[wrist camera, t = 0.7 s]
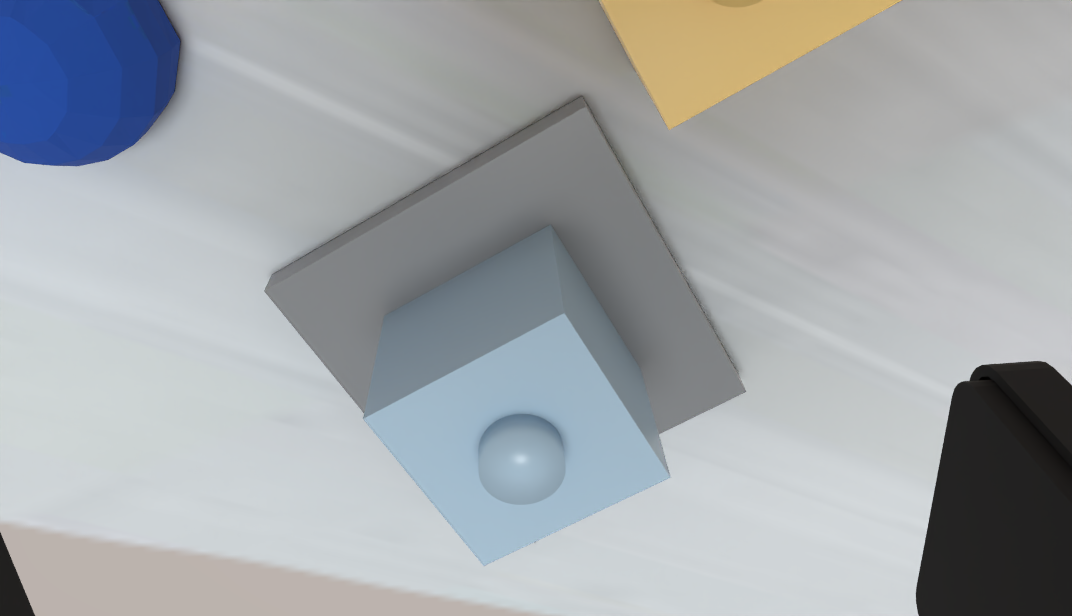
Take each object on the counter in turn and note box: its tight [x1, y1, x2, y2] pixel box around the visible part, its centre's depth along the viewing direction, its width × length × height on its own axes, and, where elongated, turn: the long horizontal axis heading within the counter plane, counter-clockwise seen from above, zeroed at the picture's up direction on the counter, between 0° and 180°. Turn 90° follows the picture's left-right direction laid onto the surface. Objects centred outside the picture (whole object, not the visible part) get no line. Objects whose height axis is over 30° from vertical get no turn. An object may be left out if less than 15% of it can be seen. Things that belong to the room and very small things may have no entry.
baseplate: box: [264, 96, 746, 434], centre depth 32 cm, size 12×12×2 cm
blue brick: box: [363, 225, 670, 566], centre depth 29 cm, size 6×6×7 cm
